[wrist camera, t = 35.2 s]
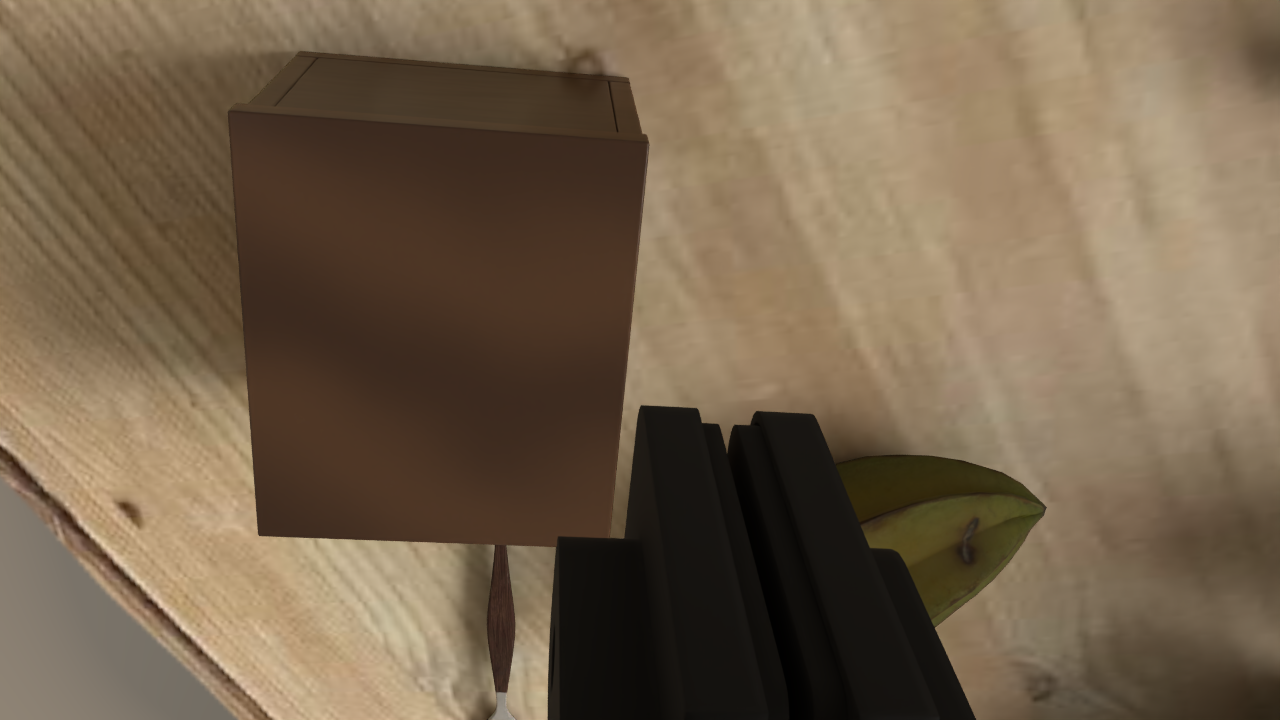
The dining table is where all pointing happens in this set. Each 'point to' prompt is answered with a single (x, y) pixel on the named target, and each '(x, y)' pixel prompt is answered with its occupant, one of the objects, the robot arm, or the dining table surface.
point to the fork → (501, 630)
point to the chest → (453, 92)
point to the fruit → (941, 521)
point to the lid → (434, 323)
